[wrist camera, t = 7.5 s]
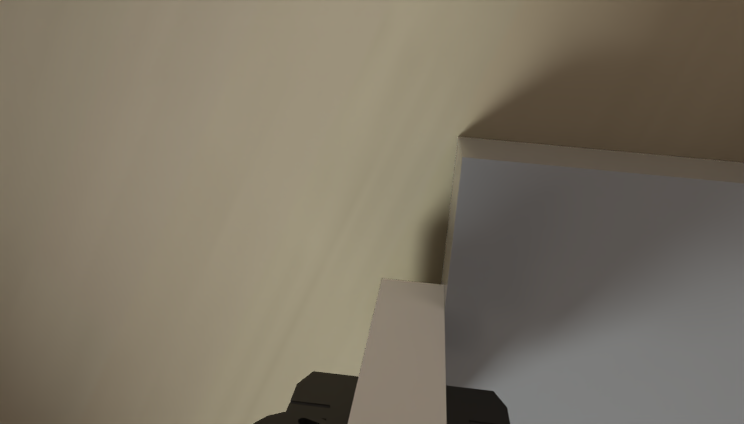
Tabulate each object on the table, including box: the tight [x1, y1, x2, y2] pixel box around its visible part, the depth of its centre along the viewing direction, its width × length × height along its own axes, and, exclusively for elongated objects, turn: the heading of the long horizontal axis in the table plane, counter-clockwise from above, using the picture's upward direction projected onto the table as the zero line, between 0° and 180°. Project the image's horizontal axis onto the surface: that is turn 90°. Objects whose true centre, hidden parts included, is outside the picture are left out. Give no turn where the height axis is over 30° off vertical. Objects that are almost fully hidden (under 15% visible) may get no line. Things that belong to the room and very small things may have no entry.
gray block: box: [441, 137, 744, 424], centre depth 15 cm, size 14×9×3 cm, turn 86°
